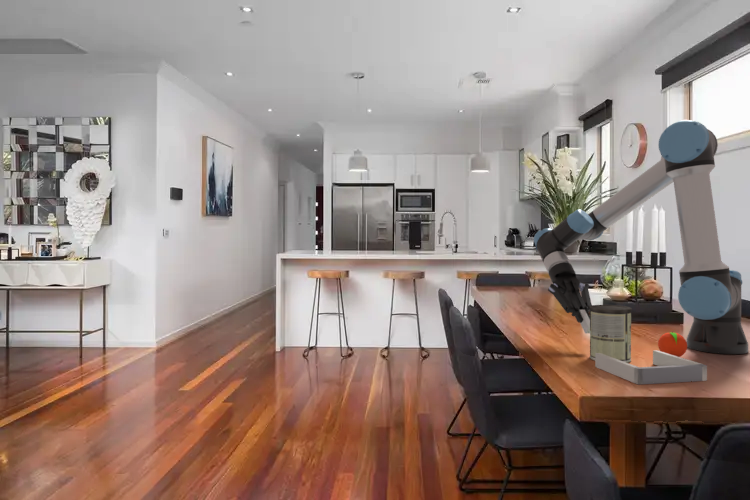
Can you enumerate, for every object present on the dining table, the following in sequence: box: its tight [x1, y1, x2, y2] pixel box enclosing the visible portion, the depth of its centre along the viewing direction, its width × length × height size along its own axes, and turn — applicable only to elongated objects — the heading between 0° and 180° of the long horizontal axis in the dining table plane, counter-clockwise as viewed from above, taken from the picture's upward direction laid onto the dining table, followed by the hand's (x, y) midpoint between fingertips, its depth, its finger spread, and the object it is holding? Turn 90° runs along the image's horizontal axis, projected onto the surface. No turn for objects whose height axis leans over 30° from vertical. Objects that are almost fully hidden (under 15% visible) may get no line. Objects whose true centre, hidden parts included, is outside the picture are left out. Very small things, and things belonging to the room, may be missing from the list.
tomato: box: [657, 331, 688, 358], centre depth 141 cm, size 8×7×7 cm
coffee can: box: [589, 304, 633, 364], centre depth 140 cm, size 10×10×14 cm
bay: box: [594, 349, 708, 385], centre depth 125 cm, size 16×17×4 cm
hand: (589, 330), depth 149 cm, fingers closed
